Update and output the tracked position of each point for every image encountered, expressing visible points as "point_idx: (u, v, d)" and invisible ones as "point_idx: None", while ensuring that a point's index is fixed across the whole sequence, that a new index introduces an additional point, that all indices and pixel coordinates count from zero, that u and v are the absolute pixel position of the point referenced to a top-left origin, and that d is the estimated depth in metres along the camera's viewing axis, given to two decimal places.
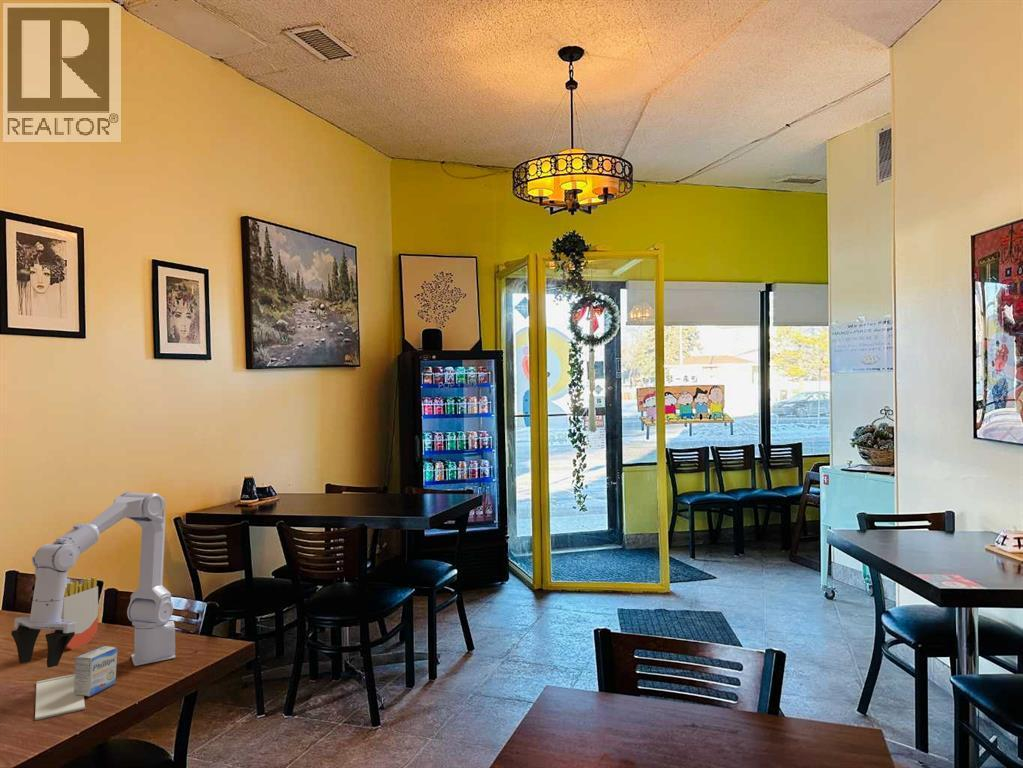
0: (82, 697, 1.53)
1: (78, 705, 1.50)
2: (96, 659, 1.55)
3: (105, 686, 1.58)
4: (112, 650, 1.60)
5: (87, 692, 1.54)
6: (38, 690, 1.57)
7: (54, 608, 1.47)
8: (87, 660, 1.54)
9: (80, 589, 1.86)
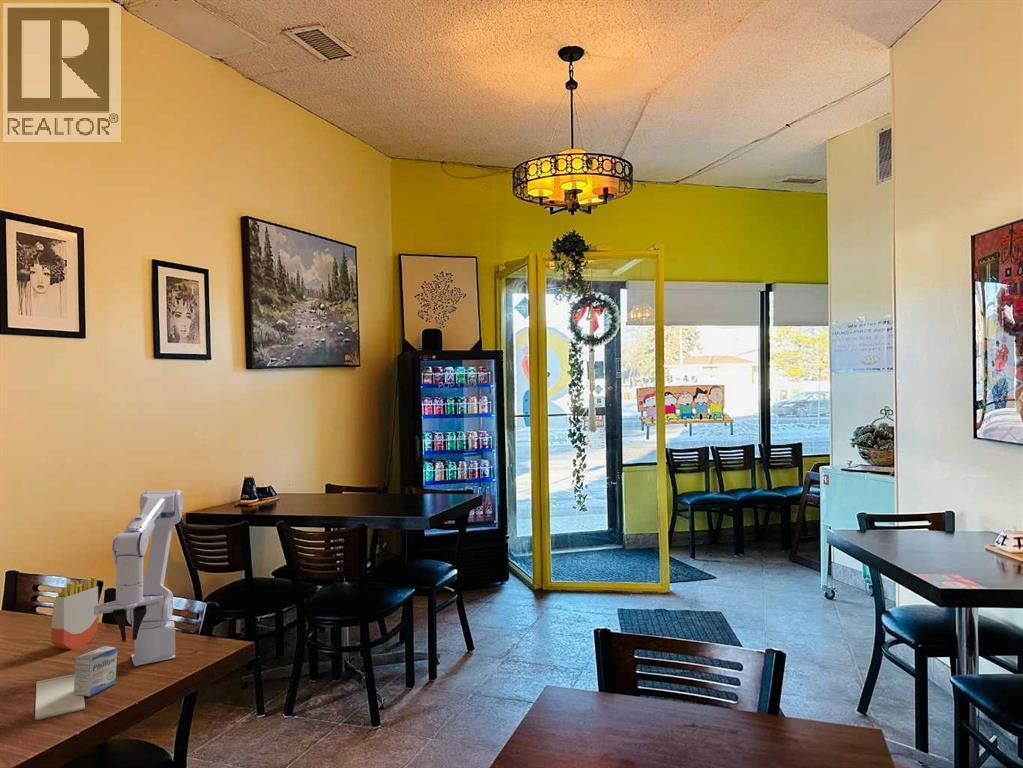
0: (82, 697, 1.53)
1: (78, 705, 1.50)
2: (96, 659, 1.55)
3: (105, 686, 1.58)
4: (112, 650, 1.60)
5: (87, 692, 1.54)
6: (38, 690, 1.57)
7: (143, 587, 1.63)
8: (87, 660, 1.54)
9: (80, 589, 1.86)
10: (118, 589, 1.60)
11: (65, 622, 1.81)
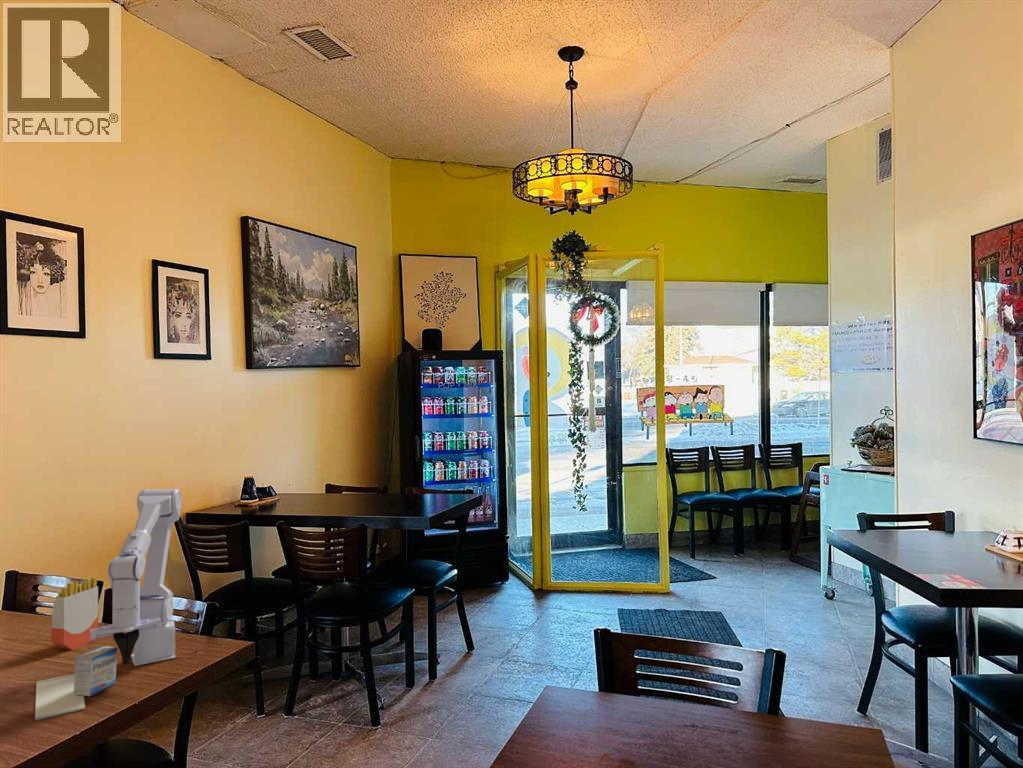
0: (82, 697, 1.53)
1: (78, 705, 1.50)
2: (96, 659, 1.55)
3: (105, 686, 1.58)
4: (112, 650, 1.60)
5: (87, 692, 1.54)
6: (38, 690, 1.57)
7: (139, 610, 1.63)
8: (87, 660, 1.54)
9: (80, 589, 1.86)
10: (115, 613, 1.59)
11: (65, 622, 1.81)
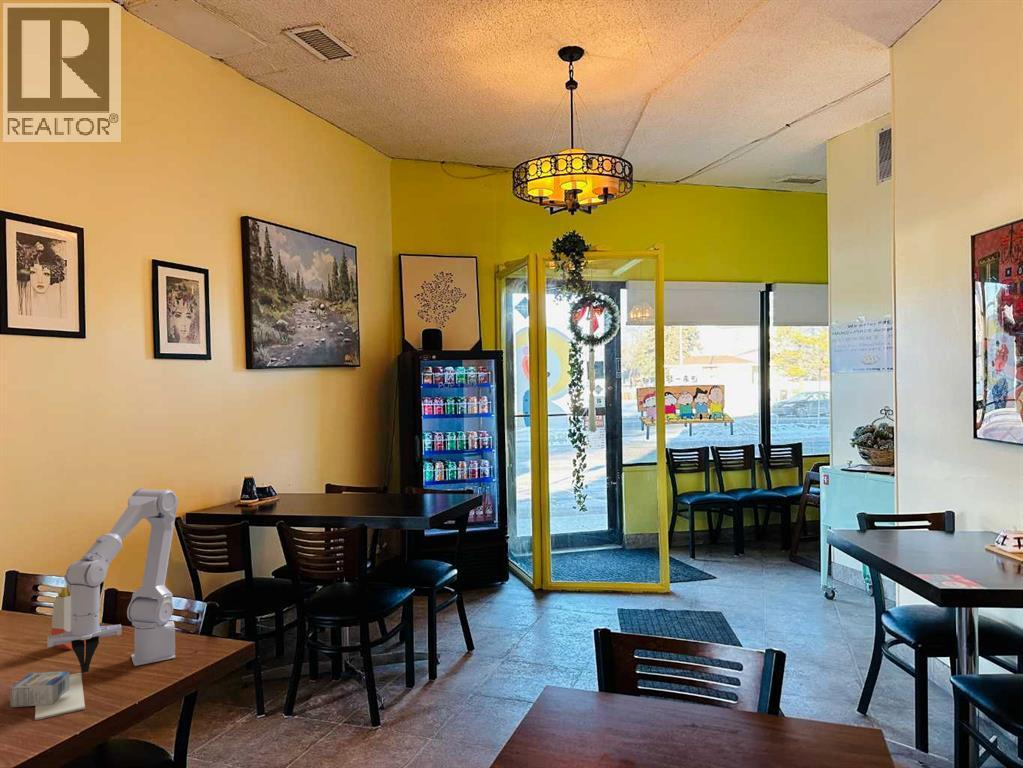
0: (82, 697, 1.53)
1: (78, 705, 1.50)
2: (16, 684, 1.50)
3: (60, 676, 1.54)
4: (26, 676, 1.55)
5: (47, 687, 1.50)
6: None
7: (99, 617, 1.58)
8: (12, 692, 1.49)
9: None
10: (73, 620, 1.54)
11: (65, 622, 1.81)
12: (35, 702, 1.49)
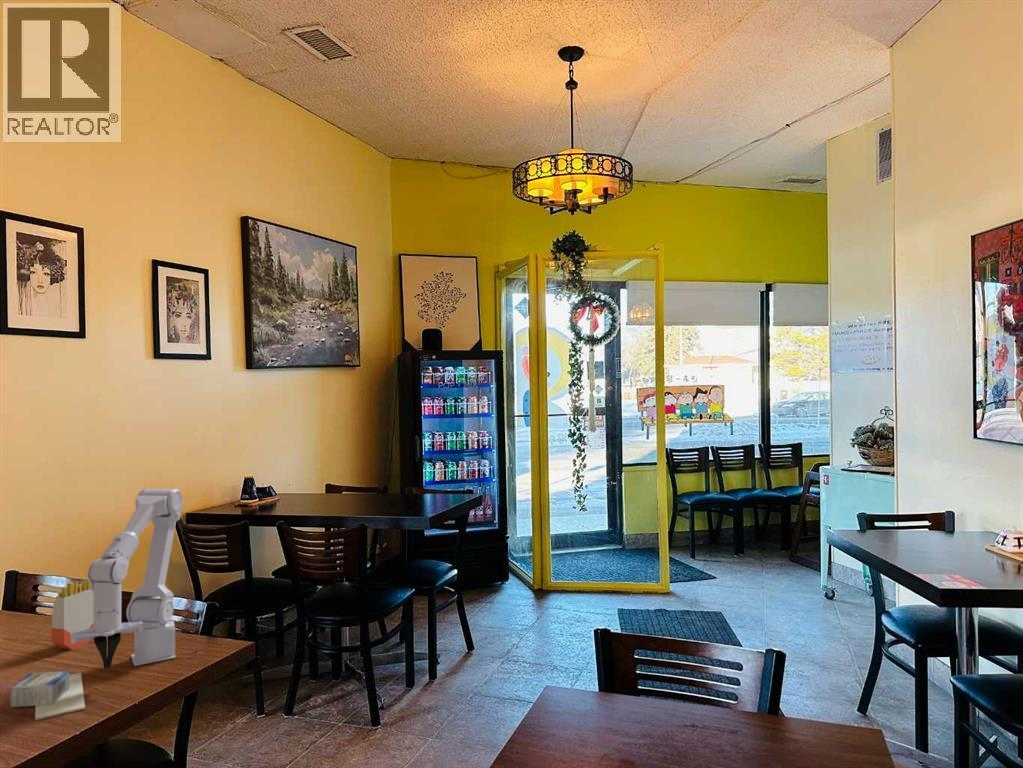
0: (82, 697, 1.53)
1: (78, 705, 1.50)
2: (16, 684, 1.50)
3: (60, 676, 1.54)
4: (26, 676, 1.55)
5: (47, 687, 1.50)
6: None
7: None
8: (12, 692, 1.49)
9: (80, 589, 1.86)
10: (95, 616, 1.57)
11: (65, 622, 1.81)
12: (35, 702, 1.49)
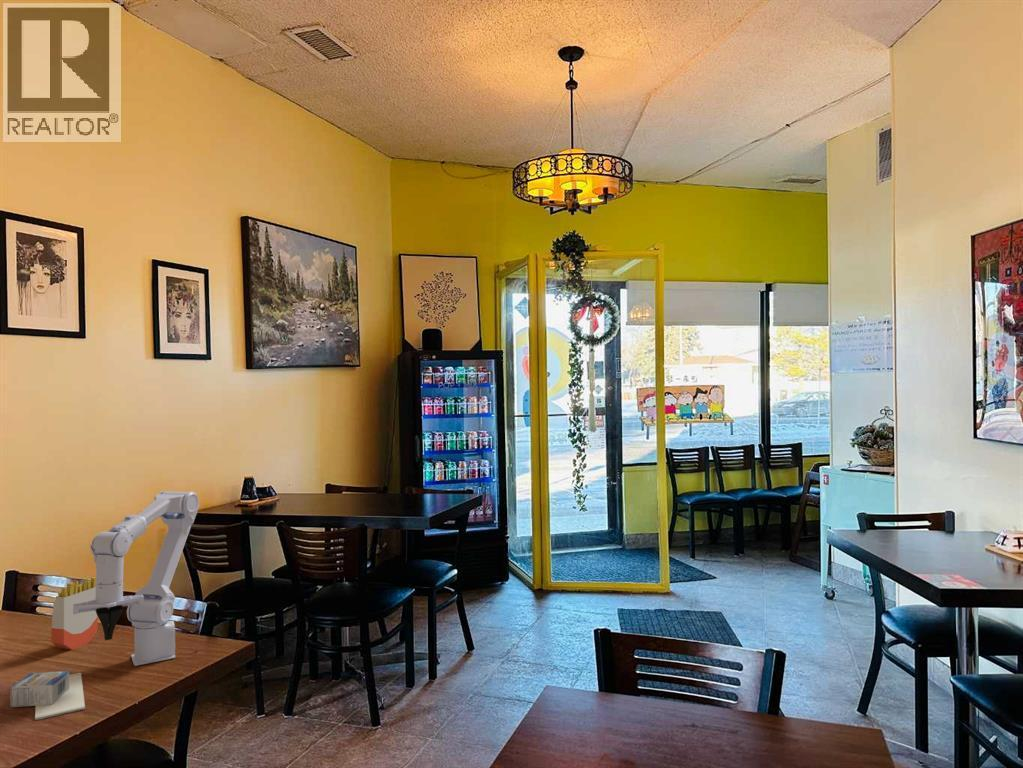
0: (82, 697, 1.53)
1: (78, 705, 1.50)
2: (16, 684, 1.50)
3: (60, 676, 1.54)
4: (26, 676, 1.55)
5: (47, 687, 1.50)
6: None
7: (122, 586, 1.64)
8: (12, 692, 1.49)
9: (80, 589, 1.86)
10: (98, 588, 1.60)
11: (65, 622, 1.81)
12: (35, 702, 1.49)
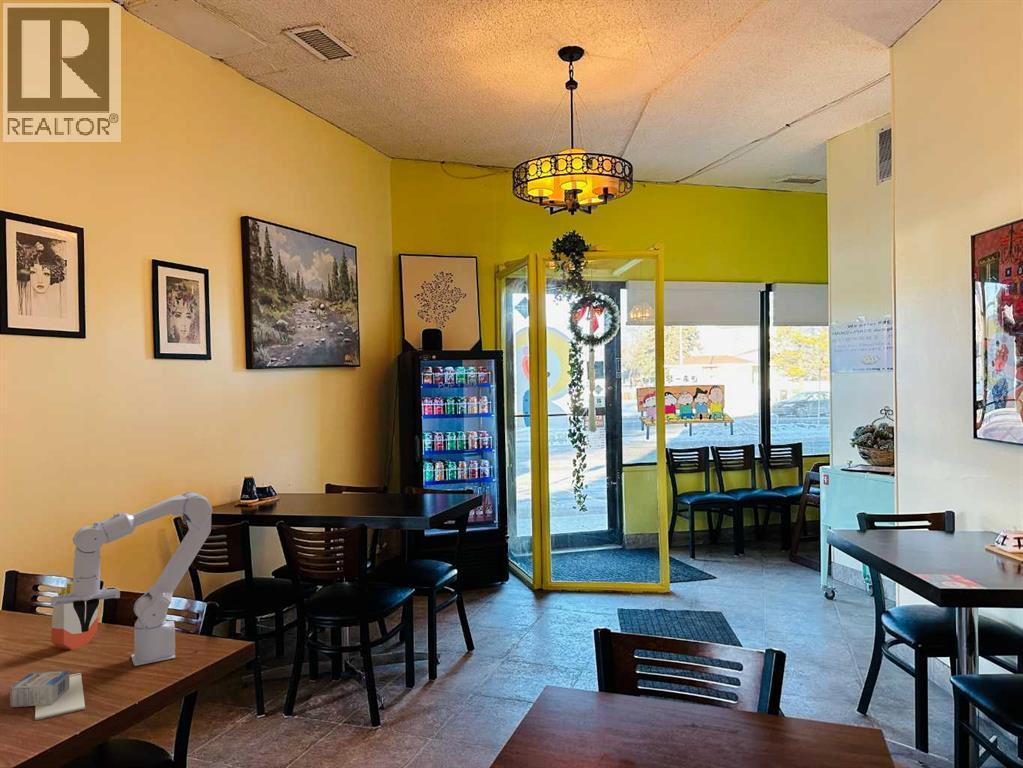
0: (82, 697, 1.53)
1: (78, 705, 1.50)
2: (16, 684, 1.50)
3: (60, 676, 1.54)
4: (26, 676, 1.55)
5: (47, 687, 1.50)
6: None
7: (99, 580, 1.69)
8: (12, 692, 1.49)
9: None
10: (75, 581, 1.66)
11: (65, 622, 1.81)
12: (35, 702, 1.49)
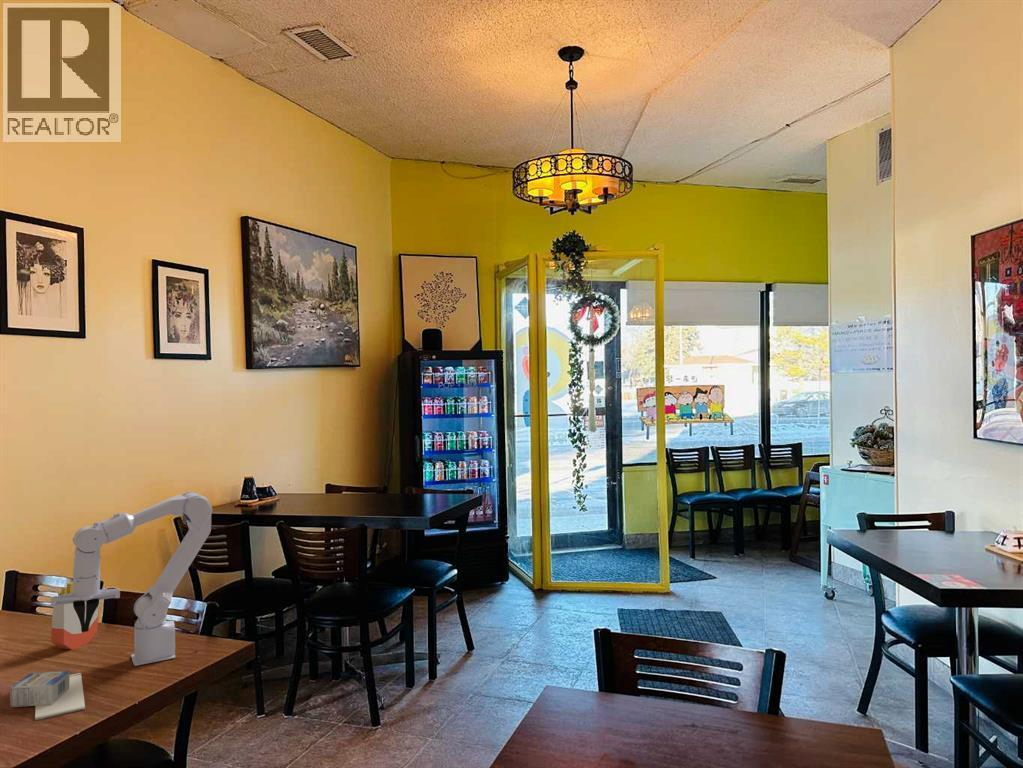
0: (82, 697, 1.53)
1: (78, 705, 1.50)
2: (16, 684, 1.50)
3: (60, 676, 1.54)
4: (26, 676, 1.55)
5: (47, 687, 1.50)
6: None
7: (99, 580, 1.69)
8: (12, 692, 1.49)
9: None
10: (75, 581, 1.66)
11: (65, 622, 1.81)
12: (35, 702, 1.49)
